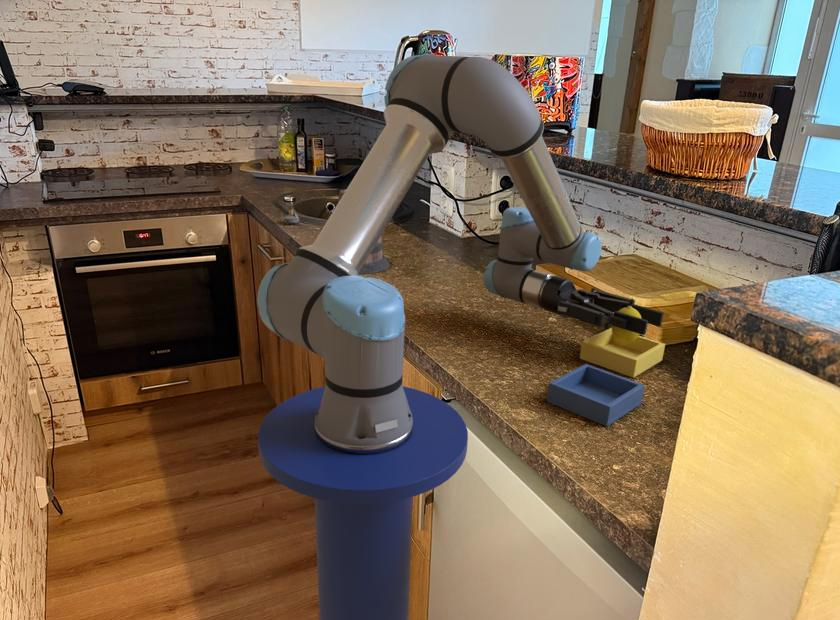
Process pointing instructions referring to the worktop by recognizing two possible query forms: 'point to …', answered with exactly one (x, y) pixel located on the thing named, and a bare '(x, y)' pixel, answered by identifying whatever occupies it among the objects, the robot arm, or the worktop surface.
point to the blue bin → (595, 394)
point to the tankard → (372, 255)
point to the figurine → (291, 217)
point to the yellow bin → (622, 353)
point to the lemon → (623, 334)
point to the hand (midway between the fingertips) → (653, 323)
